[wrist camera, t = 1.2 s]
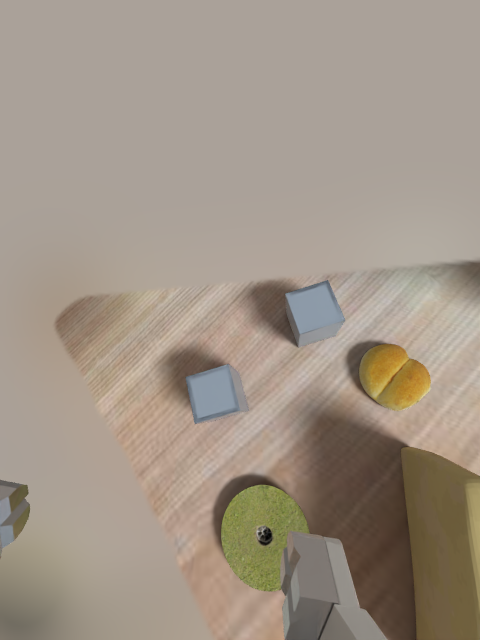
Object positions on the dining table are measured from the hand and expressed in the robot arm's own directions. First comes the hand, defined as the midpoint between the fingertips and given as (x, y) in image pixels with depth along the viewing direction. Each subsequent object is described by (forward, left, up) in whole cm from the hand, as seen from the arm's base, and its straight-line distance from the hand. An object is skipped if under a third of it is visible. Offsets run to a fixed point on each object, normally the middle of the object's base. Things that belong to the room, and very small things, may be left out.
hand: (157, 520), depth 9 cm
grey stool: (+4, -7, -34) cm, 35 cm away
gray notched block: (-12, -14, -34) cm, 39 cm away
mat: (+3, +11, -34) cm, 36 cm away
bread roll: (-20, -3, -35) cm, 40 cm away
